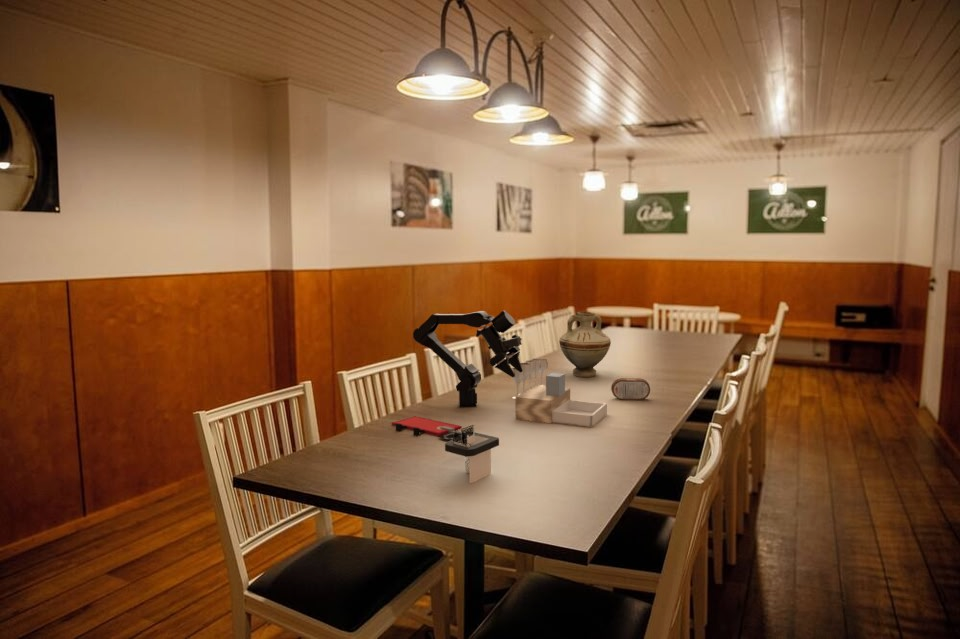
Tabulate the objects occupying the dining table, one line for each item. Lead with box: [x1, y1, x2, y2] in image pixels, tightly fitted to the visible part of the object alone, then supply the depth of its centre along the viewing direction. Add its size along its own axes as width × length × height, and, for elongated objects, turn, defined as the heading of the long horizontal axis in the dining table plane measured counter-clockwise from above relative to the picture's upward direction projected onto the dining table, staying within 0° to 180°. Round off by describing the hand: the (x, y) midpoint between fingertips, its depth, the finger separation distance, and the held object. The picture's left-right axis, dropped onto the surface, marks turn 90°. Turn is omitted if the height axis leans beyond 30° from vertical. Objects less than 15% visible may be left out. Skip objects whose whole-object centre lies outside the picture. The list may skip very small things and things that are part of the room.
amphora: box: [558, 311, 612, 378], centre depth 291 cm, size 24×24×30 cm
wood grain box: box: [514, 384, 571, 424], centre depth 226 cm, size 13×20×8 cm
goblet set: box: [511, 357, 549, 400], centre depth 261 cm, size 28×6×13 cm, turn 150°
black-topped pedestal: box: [444, 423, 500, 484], centre depth 167 cm, size 28×26×13 cm
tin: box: [610, 377, 651, 401], centre depth 246 cm, size 15×3×8 cm, turn 84°
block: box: [545, 372, 566, 396], centre depth 223 cm, size 5×6×7 cm
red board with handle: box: [391, 416, 463, 441], centre depth 209 cm, size 30×3×15 cm
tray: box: [552, 399, 608, 428], centre depth 220 cm, size 15×18×4 cm
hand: (517, 374), depth 232 cm, fingers open, 9 cm apart
